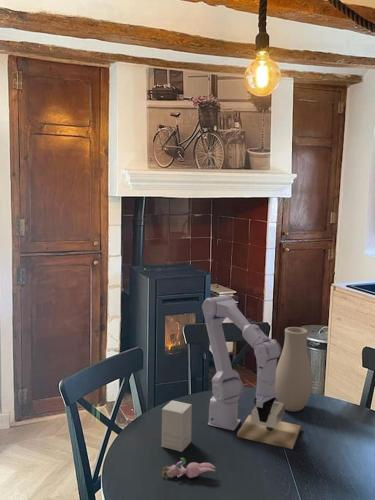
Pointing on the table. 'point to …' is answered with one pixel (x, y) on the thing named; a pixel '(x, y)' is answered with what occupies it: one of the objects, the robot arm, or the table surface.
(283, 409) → the beige hollow boxy piece
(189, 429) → the supplement box
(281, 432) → the board
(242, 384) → the robot arm
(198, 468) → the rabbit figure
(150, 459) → the table surface
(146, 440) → the table surface
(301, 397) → the vase
